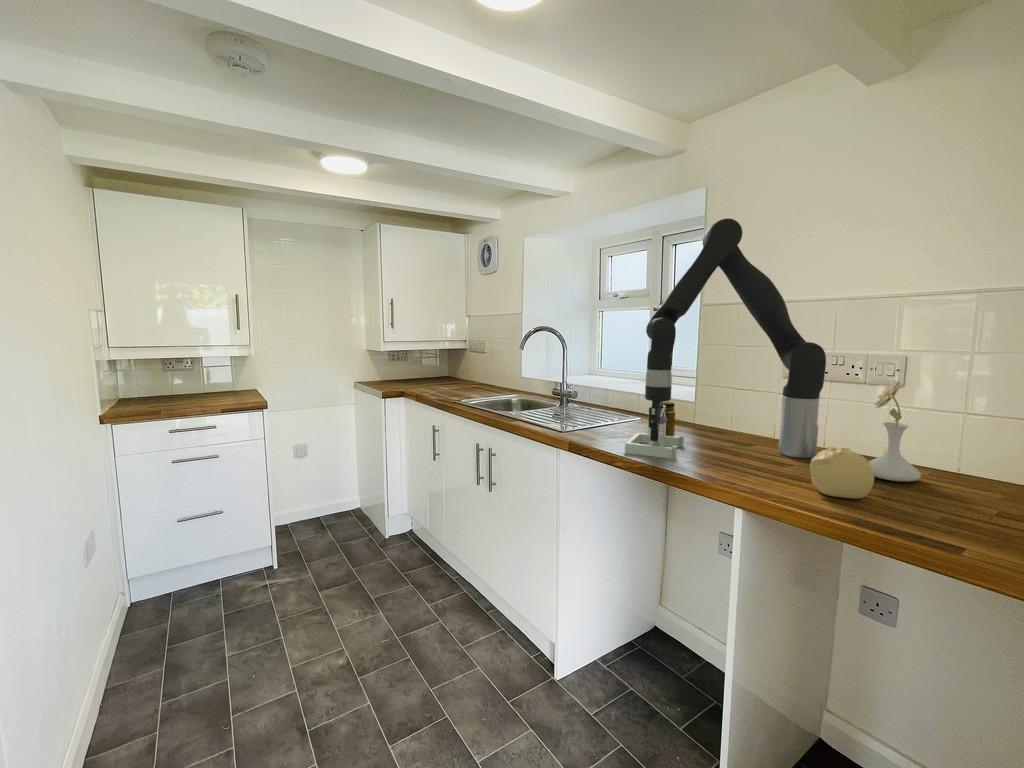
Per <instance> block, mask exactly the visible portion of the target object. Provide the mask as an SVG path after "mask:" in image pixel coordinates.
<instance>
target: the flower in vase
mask: <svg viewBox="0 0 1024 768" xmlns="http://www.w3.org/2000/svg"><path fill="white" fill-rule="evenodd" d="M901 384H902V382H901V381H900V379H898V380H897V381H896V380H895V379H894V380H893V381H892V382H891V383H890V384H889V385H886V386H885V387H884V390H883V391H882V393H881V394H879V395H878V396H877V399H878V400H876V401H875V403H874V405H875V408H876V409H878V408H883V407H884V406H885V405H887V404H888V403H889V402H890V401H891V400H892V399H893V402H895V403H894V404H895V405H896V407H897V409H895V408H894V407H893V408H892V409H890V411H889V415H890V416H892V418H893V419H895V420H894V422H891V421H885V422H883V423H882V424H883V425H884V427H885V428H886V430H887V436H888V437H887V438H888V442H887V443H888V444H887V449H886V451H884V453H883V454H882V455H879V456H877V457H876V458H873V459H871V460H870V461H869V460H868V462H869V463H870V464H871V466H872V468H873V472H874V478H875V477H876V478H878V479H882V480H886V481H892V482H903V483H905V482H906V483H907V482H908V483H909V482H915V481H919V479H921V478H922V474H921V473H920V471H919V470H918V469H917V468H916V467H915V466H914V465H913V464H912V463H910V462H909V461H908V460H907V459H905V458H904V457H903V456H902V454H901V451H900V449H901V447H900V446H901V439H902V436H903V434H904V432H905V430H906V429H908V427H909V426H910V425H909V424H907V423H901V422H899V420H901V419H902V418H903V416H902V412H901V409H900V406H899V403H898V401H897V398H896V395H897V394H898V391H899V390H900V389H901Z"/></svg>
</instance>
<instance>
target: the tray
mask: <svg viewBox="0 0 1024 768" xmlns="http://www.w3.org/2000/svg"><path fill="white" fill-rule="evenodd" d="M647 438H648V433H641V432H640V433H639V432H637V433H635V434H634V435H632V437H631V438H629V439H628V440H627V441H626V442H625V443H624V454H629V455H630V454H631V455H638V456H647V457H653V458H662V459H672V460H677V453H678V448H682V449H683V448H684V447H685V444H684V442H685V441H684V440H685V435H679V436H678V437H673V436H665V447H663V446H654V445H647Z"/></svg>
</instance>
